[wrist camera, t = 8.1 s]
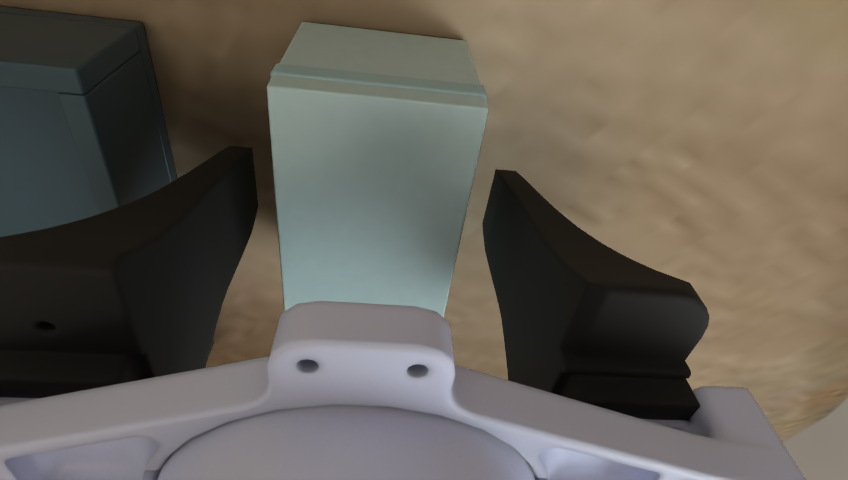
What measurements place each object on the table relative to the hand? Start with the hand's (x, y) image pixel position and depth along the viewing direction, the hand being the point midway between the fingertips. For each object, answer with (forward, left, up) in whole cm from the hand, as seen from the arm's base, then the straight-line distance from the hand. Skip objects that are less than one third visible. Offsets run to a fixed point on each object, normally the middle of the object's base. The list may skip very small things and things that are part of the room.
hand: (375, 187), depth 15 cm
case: (0, 0, -2) cm, 2 cm away
